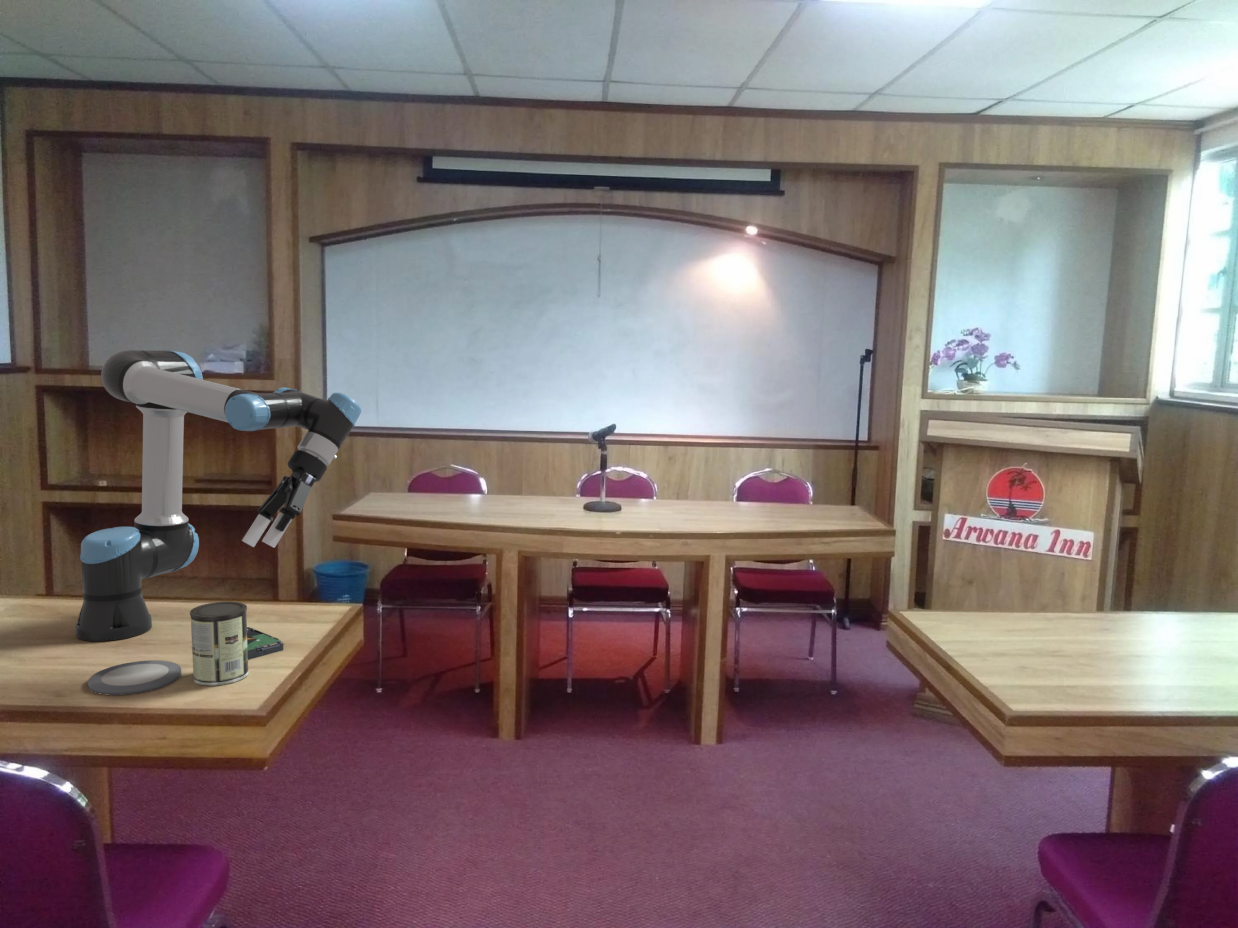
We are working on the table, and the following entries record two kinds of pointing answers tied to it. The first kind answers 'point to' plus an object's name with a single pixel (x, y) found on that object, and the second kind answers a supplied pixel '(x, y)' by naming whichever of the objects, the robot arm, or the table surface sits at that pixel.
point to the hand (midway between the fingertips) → (257, 544)
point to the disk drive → (261, 644)
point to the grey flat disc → (134, 677)
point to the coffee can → (219, 643)
